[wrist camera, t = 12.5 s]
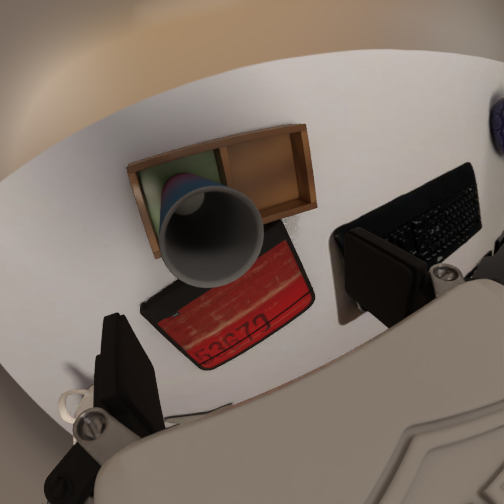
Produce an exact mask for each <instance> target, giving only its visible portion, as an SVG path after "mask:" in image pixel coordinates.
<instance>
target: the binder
mask: <svg viewBox="0 0 504 504" xmlns="http://www.w3.org/2000/svg"><path fill="white" fill-rule="evenodd" d="M263 227H264V238H263V245H262V248H261V251H260V254H259V255H258V257H257V259H256V261H255V262H254V264H253V265H252V266H251V268H250V269H249V270H248V271H247V272H246V273H245V274H244V275H243V276H241V277H240V278H238V279H237V280H235V281H233V282H231V283H229V284H226V285H223V286H219V287H213V288H202V287H196V286H192V285H189V284H187V283H185V282H183V281H181V280H178V281H176V282H175V283H173V284H172V285H170V286H169V287H167V288H166V289H164V290H163V291H161V292H160V293H158V294H157V295H156V296H154V297H153V298H151V299H150V300H148V301H147V302H146V303H144V304H142V305H141V306H140V314H141V315H142V316H143V317H145V318H146V319H147V320H148V321H149V322H150V323H151V324H152V325H153V326H154V327H155V328H156V329H157V330H158V331H159V332H160V333H161V334H162V335H163V336H164V337H165V338H166V339H167V340H168V341H170V342H171V343H172V344H173V345H174V346H175V347H176V348H177V349H178V350H179V351H180V352H182V353H183V354H184V355H185V356H186V357H187V358H188V359H190V360H191V361H192V362H193V363H194V364H195V365H196V366H198V367H199V368H200V369H202V370H213V369H215V368H217V367H219V366H221V365H223V364H225V363H227V362H228V361H230V360H232V359H234V358H236V357H237V356H239V355H241V354H242V353H244V352H246V351H247V350H249V349H251V348H252V347H254V346H255V345H257V344H258V343H260V342H262V341H263V340H265V339H266V338H268V337H269V336H271V335H272V334H274V333H275V332H277V331H278V330H280V329H281V328H283V327H284V326H285V325H287V324H288V323H290V322H291V321H293V320H294V319H295V318H297V317H298V316H299V315H301V314H302V313H304V312H305V311H306V310H307V309H309V308H310V307H311V306H312V304H313V303H314V300H315V293H314V291H313V287H312V286H311V284H310V281H309V279H308V277H307V275H306V272H305V270H304V268H303V265H302V263H301V261H300V259H299V256H298V254H297V252H296V250H295V248H294V246H293V243H292V241H291V239H290V237H289V235H288V233H287V231H286V228H285V226H284V224H283V222H282V220H281V219H279V220H276V221H272V222H269V223H266V224H263Z"/></svg>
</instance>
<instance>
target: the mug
mask: <svg viewBox="0 0 504 504" xmlns="http://www.w3.org/2000/svg"><path fill="white" fill-rule="evenodd" d="M93 393H94V385H92V386H91V387H90V388H89V390H86V389H77V390H70V391H67V392H65V393H63V394H62V395H61V397H60V399H59V403H58V408H59V412H60V415H61V417H62V418H63V420H64V421H66V422H68V423H74V422H75V420H76V418H77V417H78V416H79V414H81V413H82V412H83V411H84V410H87V409H89V408H93ZM71 394H83V395H84V397H83V399H82V401H81V402H80V404H79V406H78V408H77V410H76V413H75V418H72V417H71V416H70V415H69V413H68V412H67V409H66V398H67V396H68V395H71ZM76 442H77V440H76V439H75V437H74V435H73V443H74V444H75V443H76Z"/></svg>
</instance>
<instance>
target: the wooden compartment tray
mask: <svg viewBox="0 0 504 504" xmlns="http://www.w3.org/2000/svg"><path fill="white" fill-rule="evenodd" d="M306 130H307V128H306V124H288V125H282V126H276V127H270V128H265V129H260V130H254V131H249V132H244V133H240V134H235V135H230V136H226V137H222V138H217V139H213V140H209V141H205V142H201V143H197V144H193V145H189V146H186V147H182V148H178V149H175V150H171V151H168V152H165V153H161V154H158V155H155V156H151V157H148V158H145V159H142V160H139V161H136V162H133V163H130V164H128V166H127V167H126V169H127V173H128V174H129V175H128V176H129V180H130V183H131V187H132V190H133V193H134V197H135V200H136V203H137V206H138V210H139V213H140V216H141V219H142V222H143V225H144V228H145V231H146V234H147V237H148V240H149V243H150V246H151V248H152V251H153V254H154V257H155V259H158V258H161V253H160V248H159V225H160V207H161V193H162V189H163V186H164V184H165V183H166V181H167V180H168V179H169V178H170V177H172V176H173V175H175V174H178V173H183V172H185V173H192V174H195V175H197V176H200V177H203V178H206V179H209V180H211V181H214V182H217V183H220V184H222V185H225V186H228V187H230V188H233V189H235V190H237V191H239V192H241V193H243V194H244V195H245V196H247V197H248V198H249V199H250V200H251V201H252V202H253V203H254V204H255V206H256V207H257V209H258V211H259V213H260V215H261V218H262V221H263V224H266V223H269V222H272V221H276V220H279V219H282V218H285V217H289V216H292V215H295V214H298V213H302V212H305V211H308V210H312V209H315V208H317V200H316V192H315V184H314V176H313V169H312V161H311V154H310V148H309V141H308V135H307V131H306Z"/></svg>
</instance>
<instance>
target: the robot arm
mask: <svg viewBox="0 0 504 504" xmlns="http://www.w3.org/2000/svg"><path fill="white" fill-rule="evenodd" d="M344 259H345V289H346V292H347V294H348V295H349V296H351V297H352V298H353V299H354V300H355V301H357V302H358V303H359V304H360V305H361V306H363V307H364V308H365V309H366V310H368V311H369V312H370V313H371V314H372V315H374V316H375V317H376V318H377V319H378V320H379V321H381V322H382V323H383V324H384V325H385V326H387V327H388V328H389V329H387V330H386V331H384V332H382V333H381V334H379V335H377V336H376V337H374V338H372V339H370V340H369V341H367V342H365V343H364V344H362V345H360V346H358V347H356V348H355V349H353V350H351V351H349V352H347V353H346V354H344V355H342V356H340V357H338V358H336V359H334V360H332V361H330V362H329V363H327V364H325V365H323V366H321V367H319V368H317V369H315V370H313V371H311V372H309V373H306V374H304V375H302V376H300V377H298V378H296V379H294V380H292V381H289V382H287V383H285V384H283V385H281V386H278V387H276V388H274V389H272V390H269V391H267V392H265V393H262V394H260V395H257V396H255V397H253V398H250V399H248V400H245V401H243V402H240V403H237V404H235V405H232V406H230V407H227V408H224V409H222V410H219V411H216V412H214V413H211V414H208V415H205V416H203V417H200V418H197V419H194V420H191V421H188V422H185V423H182V424H179V425H176V426H173V427H171V428H168V429H165V425H164V420H163V415H162V410H161V405H160V400H159V394H158V389H157V383H156V377H155V371H154V368H153V365H152V363H151V361H150V360H149V358H148V356H147V355H146V353H145V351H144V349H143V348H142V346H141V344H140V342H139V341H138V339H137V337H136V335H135V333H134V332H133V330H132V328H131V326H130V324H129V322H128V320H127V318H126V317H125V315H120V314H119V313H114V314H111V315H108V316H105V317H104V320H103V329H102V340H101V353H100V354H99V355H97V356H96V359H95V373H94V393H93V408H89V409H87V410H84V411H83V412H82V413H81V414H79V416H78V417H77V418H76V420H75V422H74V424H73V435H74V437H75V439H76V440H77V442H76V443H75V444H74V446H73V447H72V448H71V449H70V450H69V452H68V453H67V454H66V455H65V456H64V458H63V459H62V460H61V461H60V463H59V464H58V465H57V466H56V467H55V468H54V470H53V471H52V472H51V473H50V475H49V476H48V477H47V479H46V481H45V484H44V493H45V496H46V498H47V500H48V501H47V504H504V284H503V283H502V282H501V281H500V280H498V279H483V278H464V277H463V275H462V273H461V271H460V270H459V269H458V268H457V267H455V266H453V265H450V264H443V263H441V264H436V265H434V266H432V267H431V269H430V272H428V271H427V263H426V262H424V261H422V260H421V259H419V258H417V257H415V256H413V255H412V254H410V253H408V252H406V251H404V250H402V249H401V248H399V247H397V246H395V245H393V244H391V243H389V242H387V241H386V240H384V239H382V238H380V237H378V236H376V235H374V234H372V233H370V232H368V231H366V230H364V229H362V228H360V227H358V228H355V229H352V230H349V231H347V233H346V235H345V236H344Z"/></svg>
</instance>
